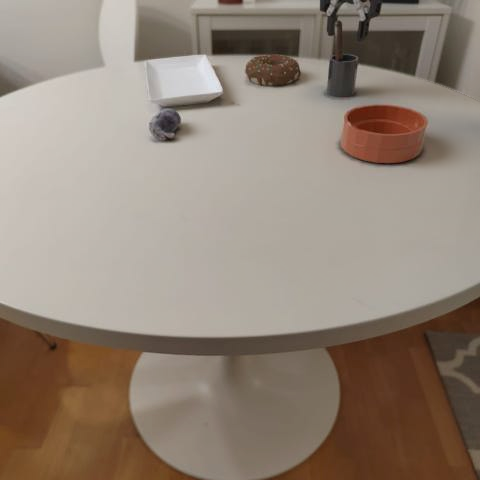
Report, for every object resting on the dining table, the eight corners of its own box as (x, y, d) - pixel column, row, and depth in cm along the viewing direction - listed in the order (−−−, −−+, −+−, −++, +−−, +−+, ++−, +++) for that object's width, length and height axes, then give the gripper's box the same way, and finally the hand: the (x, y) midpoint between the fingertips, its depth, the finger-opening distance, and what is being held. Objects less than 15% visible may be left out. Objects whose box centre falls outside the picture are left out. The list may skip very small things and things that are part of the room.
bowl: (367, 127, 91) (371, 99, 88) (434, 146, 84) (442, 116, 80) (325, 150, 84) (328, 121, 80) (394, 174, 76) (401, 142, 73)
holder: (336, 88, 109) (340, 52, 104) (359, 94, 105) (364, 57, 100) (320, 95, 106) (323, 58, 100) (343, 101, 102) (348, 63, 97)
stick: (339, 89, 106) (337, 18, 94) (345, 91, 105) (343, 19, 93) (335, 93, 105) (332, 21, 93) (341, 94, 104) (339, 22, 93)
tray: (150, 114, 100) (147, 98, 98) (145, 72, 124) (143, 58, 121) (225, 107, 102) (225, 91, 100) (207, 67, 126) (206, 53, 123)
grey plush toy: (166, 150, 89) (173, 131, 97) (181, 128, 86) (186, 110, 94) (142, 134, 87) (151, 116, 95) (156, 111, 84) (164, 94, 92)
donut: (243, 74, 120) (242, 53, 117) (295, 71, 120) (296, 50, 117) (247, 92, 109) (246, 69, 106) (303, 89, 110) (305, 66, 106)
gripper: (400, -60, 85) (385, 39, 96) (336, -62, 93) (328, 29, 104) (379, -56, 81) (365, 46, 92) (314, -59, 89) (308, 36, 100)
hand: (346, 37), depth 98 cm, fingers open, 7 cm apart
